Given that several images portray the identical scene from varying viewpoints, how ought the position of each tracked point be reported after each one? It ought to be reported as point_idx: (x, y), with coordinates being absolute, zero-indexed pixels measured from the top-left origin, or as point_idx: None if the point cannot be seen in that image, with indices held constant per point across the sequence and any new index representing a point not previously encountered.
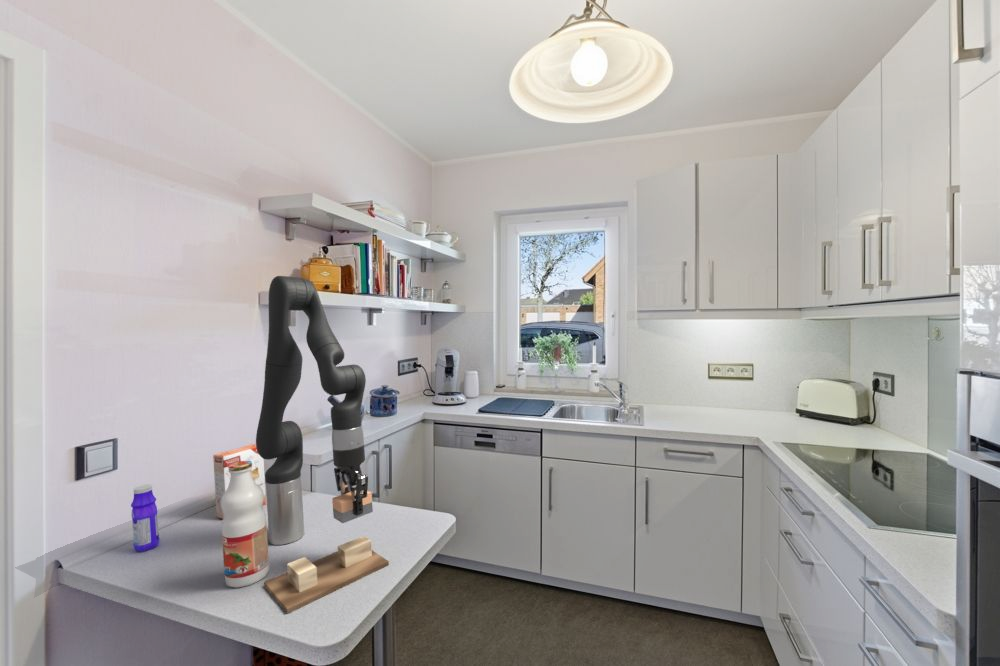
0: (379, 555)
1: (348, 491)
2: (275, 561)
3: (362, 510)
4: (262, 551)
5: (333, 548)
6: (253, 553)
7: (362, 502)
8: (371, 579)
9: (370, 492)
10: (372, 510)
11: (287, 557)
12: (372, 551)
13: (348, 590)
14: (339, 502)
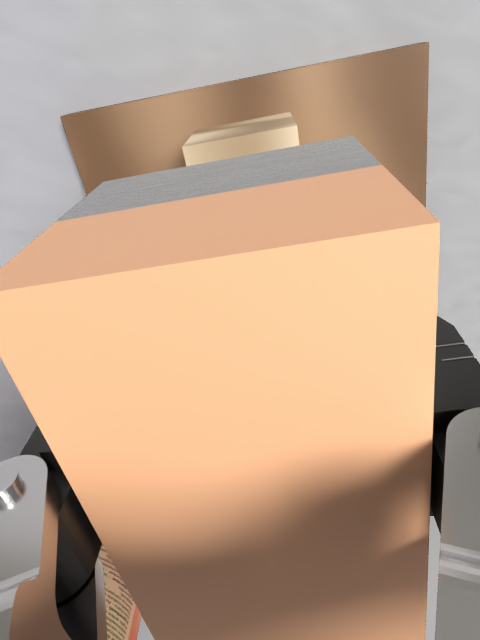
0: (319, 67)
1: (69, 524)
2: (27, 440)
3: (451, 328)
4: (114, 572)
5: (26, 244)
6: (134, 604)
7: (444, 365)
8: (470, 181)
9: (418, 239)
10: (357, 142)
11: (15, 407)
12: (236, 87)
13: (460, 290)
14: (368, 635)
